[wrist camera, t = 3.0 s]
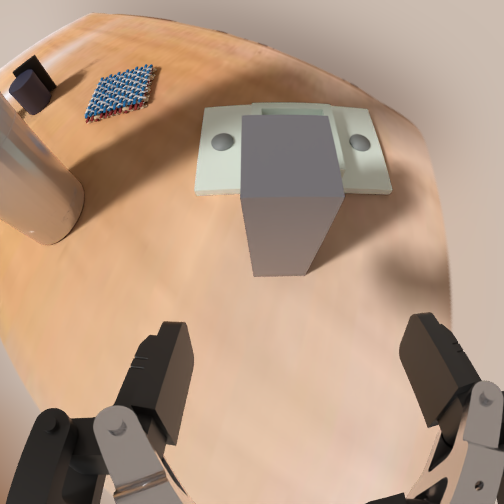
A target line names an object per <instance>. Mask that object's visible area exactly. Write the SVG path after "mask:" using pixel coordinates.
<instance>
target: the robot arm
mask: <svg viewBox="0 0 504 504" xmlns="http://www.w3.org/2000/svg"><path fill="white" fill-rule="evenodd" d="M83 203H84V190H83V187H82V185H81V183H80V182H79V181H78V180H77V179H76V178H75V177H74V176H73V175H72V174H71V173H70V171H69V170H68V169H67V168H66V167H65V166H64V165H63V164H62V163H61V162H60V161H59V160H58V159H57V157H56V156H55V155H54V154H53V153H52V152H51V151H50V150H49V149H48V148H47V147H46V145H45V144H44V143H43V142H42V141H41V140H40V139H39V138H38V136H37V135H36V134H35V133H34V132H33V131H32V130H31V129H30V127H29V126H28V125H27V124H26V123H25V122H24V120H23V119H22V118H21V117H20V116H19V114H18V113H17V112H16V111H15V110H14V109H13V107H12V106H11V105H10V104H9V102H8V101H7V100H6V99H5V97H4V96H3V95H2V94H1V92H0V219H1V220H3V221H4V222H6V223H7V224H9V225H11V226H12V227H14V228H15V229H17V230H19V231H20V232H22V233H23V234H25V235H27V236H28V237H30V238H32V239H33V240H35V241H37V242H38V243H40V244H43V245H51V244H54V243H57V242H58V241H60V240H61V239H63V238H64V237H65V236H66V235H67V234H68V233H69V232H70V230H71V229H72V228H73V227H74V225H75V223H76V222H77V220H78V218H79V216H80V213H81V211H82V207H83ZM399 356H400V360H401V362H402V365H403V367H404V369H405V371H406V374H407V376H408V379H409V381H410V383H411V386H412V388H413V391H414V393H415V396H416V398H417V401H418V403H419V406H420V408H421V411H422V413H423V416H424V419H425V422H426V424H427V427H428V428H429V427H432V426H436V425H439V426H440V430H439V431H438V433H437V436H436V439H435V441H434V444H433V447H432V450H431V453H430V455H429V458H428V460H427V463H426V466H425V468H424V470H423V473H422V475H421V476H420V478H419V479H418V481H417V482H416V483H415V484H414V486H413V487H412V489H411V490H410V492H409V494H408V495H407V497H406V498H405V495H404V493H400V494H397V495H393V496H390V497H386V498H382V499H378V500H374V501H370V502H368V503H366V504H495V500H496V497H497V502H498V504H504V391H501V390H500V388H499V387H498V386H497V385H495V384H494V383H492V382H490V381H482V380H481V379H480V377H479V375H478V374H477V372H476V370H475V369H474V367H473V365H472V363H471V362H470V360H469V359H468V357H467V355H466V354H465V352H463V349H462V348H461V346H460V344H458V341H457V339H456V338H455V336H454V335H453V333H452V332H451V331H450V330H449V329H447V328H446V327H445V326H444V325H442V324H439V322H438V321H437V319H436V318H435V316H434V315H433V314H432V313H430V312H428V313H420V314H413V315H412V316H411V317H410V319H409V322H408V325H407V327H406V330H405V333H404V336H403V338H402V341H401V343H400V348H399ZM193 367H194V354H193V350H192V345H191V341H190V337H189V333H188V328H187V325H186V323H185V322H168V321H164V322H163V323H162V325H161V327H160V330H159V332H158V335H157V336H156V335H149V336H148V337H147V338H146V339H145V340H144V341H143V342H142V343H141V344H140V345H139V347H138V350H137V352H136V354H135V358H134V359H133V361H132V363H131V368H129V370H128V372H127V375H126V377H125V380H124V382H123V384H122V387H121V389H120V392H119V394H118V396H117V399H116V401H115V403H114V405H113V406H110V407H107V408H105V409H104V410H102V411H101V412H100V413H99V414H98V415H97V416H96V417H93V418H73V419H70V418H69V417H68V415H67V414H66V413H65V412H64V411H62V410H60V409H57V408H51V409H47V410H45V411H43V412H42V413H41V414H40V415H39V416H38V417H37V419H36V421H35V423H34V425H33V428H32V430H31V432H30V435H29V437H28V440H27V442H26V445H25V447H24V450H23V452H22V455H21V458H20V461H19V463H18V466H17V469H16V472H15V475H14V478H13V481H12V484H11V487H10V491H9V494H8V497H7V501H6V504H100V499H101V495H102V490H103V486H104V482H105V477H106V475H110V476H111V478H112V481H113V483H114V485H115V488H116V491H115V492H114V500H115V503H116V504H195V502H194V501H193V500H192V499H191V497H190V496H189V495H188V493H187V492H186V490H185V489H184V487H183V486H182V484H181V483H180V481H179V479H178V478H177V476H176V475H175V473H174V471H173V470H172V468H171V467H170V465H169V463H168V462H167V460H166V458H165V456H164V455H163V454H164V450H165V446H166V444H169V445H175V446H176V444H177V439H178V434H179V430H180V425H181V421H182V416H183V411H184V407H185V403H186V398H187V394H188V389H189V385H190V381H191V376H192V372H193Z"/></svg>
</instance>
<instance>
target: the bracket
mask: <svg viewBox="0 0 504 504" xmlns="http://www.w3.org/2000/svg"><path fill="white" fill-rule="evenodd" d="M242 115H322V116H328V117H329V121H330V126H331V130H332V134H333V139H334V143H335V148H336V152H337V157H338V162H339V167H340V172H341V178H342V183H343V189H344V193H356V194H384V195H389V194H390V193H391V192H392V186H391V182H390V178H389V174H388V171H387V167H386V164H385V160H384V157H383V153H382V150H381V147H380V144H379V141H378V138H377V135H376V132H375V129H374V126H373V123H372V120H371V117H370V115H369V112H368V109H362V108H352V107H341V106H331V105H330V104H320V103H289V102H271V103H252V105H234V106H219V107H208V108H205V110H204V116H203V123H202V130H201V138H200V146H199V154H198V162H197V171H196V180H195V189H194V191H195V194H196V196H204V195H225V194H240V182H241V130H242Z"/></svg>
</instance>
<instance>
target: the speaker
mask: <svg viewBox="0 0 504 504" xmlns="http://www.w3.org/2000/svg"><path fill="white" fill-rule="evenodd" d="M13 74H14V75H15V77H16V79H15V80H14V81H13V83H12V84H11V86H10V88H9V93H10V94H11V95H12V96H13V97H14V98H15V99H16V100H17V101H18V102H19V104H20V105H21V106H22V107H23V108H24V109H25V110H26V111H27V112H28V113H29V114H31V115H35V114H37V113H39V112H41V111H42V110H43V109H44V108H45V106H46V105H47V104H48V103H49V101H50V97H51V94H50V91H52V90H53V89H54V88H56V87H57V86H56V84H55V83H54V82H53V80H52V79H51V78H50V76H49V75H48V73H47V72H46V70H45V69H44V68H43V66H42V65H41V63H40V62H39V60H38V59H37V57H36V56H35V55H34V56H32V57H31V58H30V59H28V60H27V61H26V62H24V63H23V64H22V65H21V66H19V67H18V68H17V69H16V70H14V71H13Z"/></svg>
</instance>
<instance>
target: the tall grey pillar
mask: <svg viewBox="0 0 504 504" xmlns="http://www.w3.org/2000/svg"><path fill="white" fill-rule="evenodd" d="M344 198H345V195H344V189H343V183H342V178H341V172H340V167H339V162H338V157H337V152H336V148H335V143H334V139H333V134H332V130H331V126H330V121H329V117H328V116H322V115H242V130H241V182H240V199H241V205H242V211H243V217H244V223H245V229H246V234H247V240H248V246H249V252H250V258H251V263H252V269H253V275H254V277H266V276H305V274H306V272H307V271H308V269H309V267H310V265H311V263H312V261H313V259H314V257H315V256H316V254H317V252H318V250H319V248H320V246H321V244H322V242H323V240H324V238H325V236H326V234H327V232H328V230H329V228H330V226H331V224H332V222H333V220H334V218H335V216H336V214H337V212H338V210H339V208H340V206H341V204H342V202H343V200H344Z"/></svg>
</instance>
